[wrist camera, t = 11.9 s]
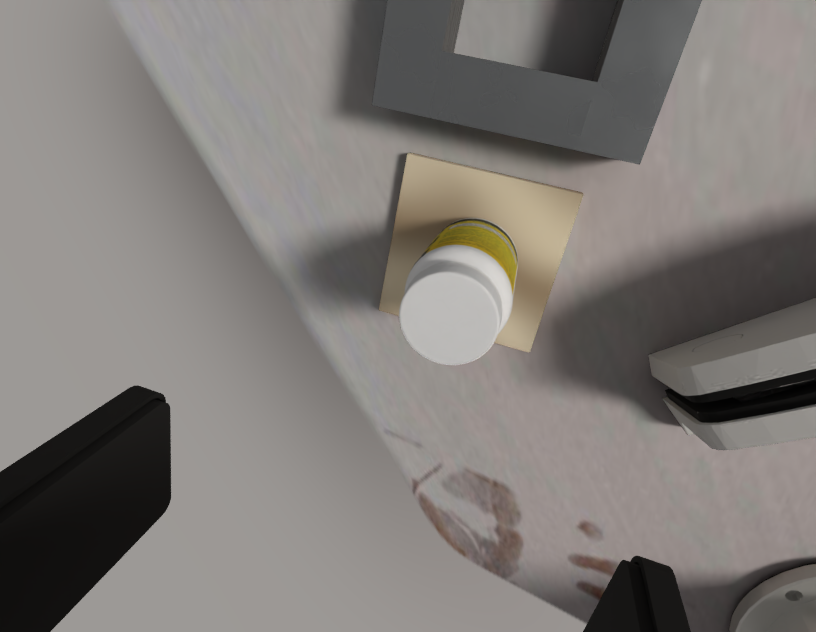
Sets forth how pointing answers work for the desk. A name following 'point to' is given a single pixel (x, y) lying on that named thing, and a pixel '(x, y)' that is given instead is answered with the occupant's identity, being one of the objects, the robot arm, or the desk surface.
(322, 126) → the desk surface
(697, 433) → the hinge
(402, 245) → the pad
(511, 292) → the supplement bottle
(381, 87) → the socket block
